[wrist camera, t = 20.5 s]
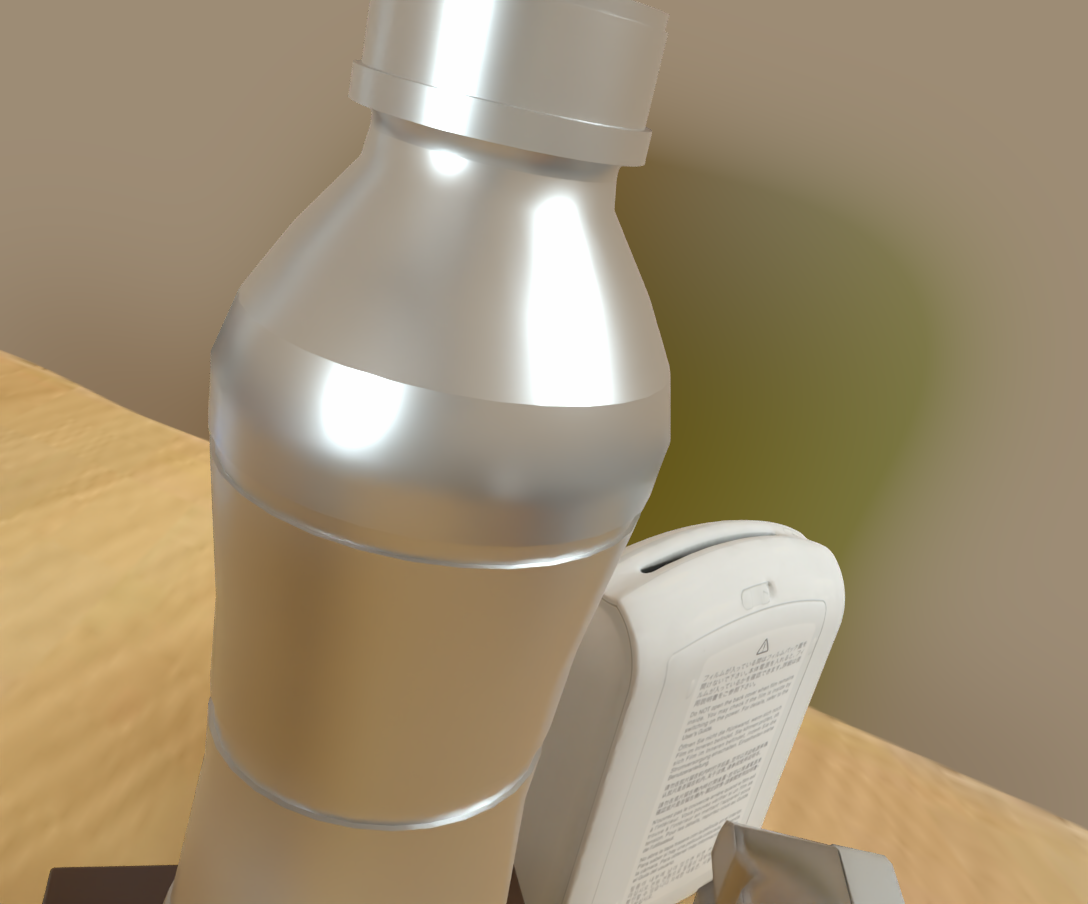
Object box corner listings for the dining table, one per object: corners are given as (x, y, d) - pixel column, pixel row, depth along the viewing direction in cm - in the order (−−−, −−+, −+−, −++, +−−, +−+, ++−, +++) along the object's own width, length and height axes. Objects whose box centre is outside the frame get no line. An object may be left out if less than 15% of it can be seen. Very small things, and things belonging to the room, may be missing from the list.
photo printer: (676, 782, 37) (779, 479, 32) (766, 862, 34) (893, 543, 29) (448, 885, 30) (538, 521, 26) (537, 997, 27) (656, 609, 23)
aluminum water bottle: (57, 1058, 19) (131, -120, 12) (348, 896, 24) (530, -5, 17) (238, 1380, 15) (518, -55, 8) (540, 1109, 20) (884, 70, 13)
